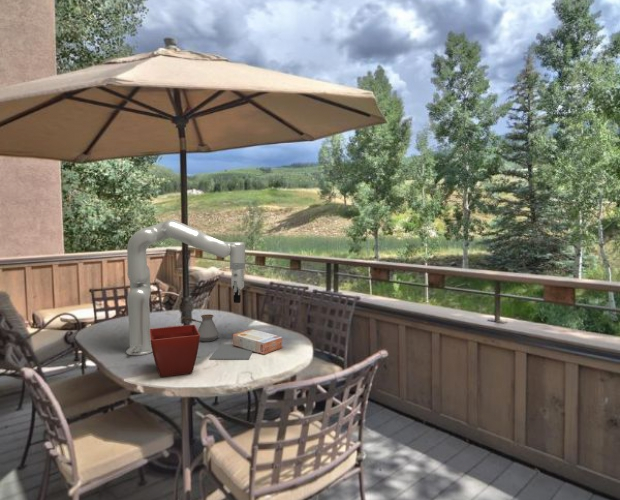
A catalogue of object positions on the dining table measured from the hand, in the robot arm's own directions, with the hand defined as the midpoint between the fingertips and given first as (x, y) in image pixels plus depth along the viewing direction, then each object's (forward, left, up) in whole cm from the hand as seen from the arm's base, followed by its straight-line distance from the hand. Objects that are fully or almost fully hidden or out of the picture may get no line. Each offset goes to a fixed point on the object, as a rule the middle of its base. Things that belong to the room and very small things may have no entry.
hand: (237, 302), depth 222 cm
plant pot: (-38, +20, -22) cm, 48 cm away
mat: (-13, 0, -22) cm, 25 cm away
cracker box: (0, -2, -18) cm, 18 cm away
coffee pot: (+4, +21, -22) cm, 30 cm away
